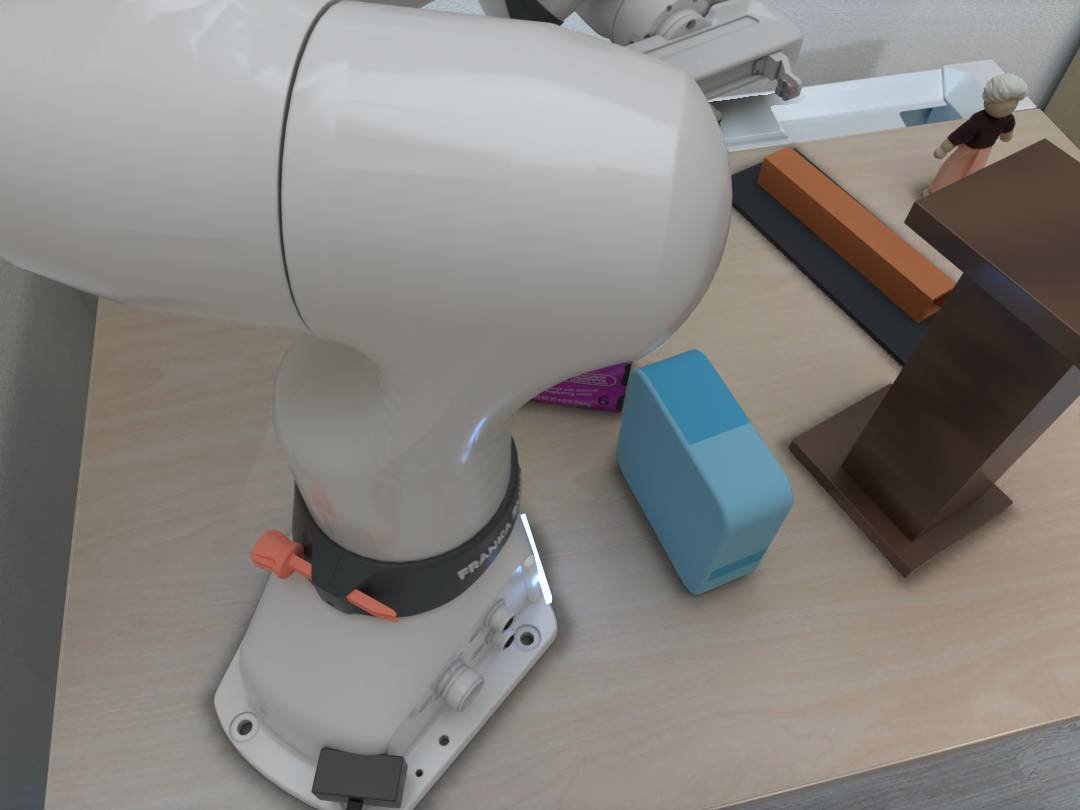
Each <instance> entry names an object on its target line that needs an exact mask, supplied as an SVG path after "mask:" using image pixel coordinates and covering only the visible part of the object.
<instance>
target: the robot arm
mask: <svg viewBox="0 0 1080 810" xmlns="http://www.w3.org/2000/svg"><path fill="white" fill-rule="evenodd" d="M434 1H435V0H0V257H1V258H2V259H3V260H5V261H6V262H9V263H11V264H12V265H14V266H16V267H18V268H21V269H23V270H26V271H27V272H31V273H34V274H36V275H39V276H41V277H44V278H47V279H48V280H51V281H54V282H57V283H59V284H63V285H65V286H67V287H70V288H73V289H75V290H77V291H80V292H83V293H86V294H89V295H92V296H95V297H98V298H101V299H105V300H106V301H107V300H108V301H109V302H114V303H117V304H120V305H122V306H125V307H129V308H131V309H135V310H137V311H141V312H144V313H145V312H146V313H152V314H153V313H154V314H161V315H168V316H175V317H182V318H189V319H197V320H203V321H209V322H210V321H211V322H217V323H224V324H231V325H238V326H245V327H246V326H247V327H253V328H260V329H261V328H262V329H268V330H275V331H283V332H288V333H295V334H297V335H296V337H295V338H294V339H293V341H292V342H291V343H290V344H289V345H288V347H287V348H286V350H285V352H284V353H283V355H282V357H281V359H280V361H279V364H278V366H277V368H276V371H275V374H274V378H273V384H272V388H271V389H272V390H271V395H270V396H271V397H270V419H271V425H272V430H273V434H274V437H275V439H276V442H277V443H278V446H279V447H280V450H281V452H282V454H283V456H284V459H285V461H286V463H287V465H288V468H289V470H290V472H291V474H292V477H293V482H294V483H293V501H292V521H291V522H292V523H291V528H290V531H289V533H288V536H286V535H285V534H283V532H281V531H279V530H277V529H275V528H272V529H269V530H267V531H265V532H264V533H263V534H262V535H261V536H260V537H259V539H257V542H256V543H255V544H254V547H253V548H252V554H251V557H250V558H251V563H252V564H253V565H254V566H257V567H258V568H261V569H264V570H266V571H269V572H271V574H270V576H269V578H268V581H267V584H266V585H265V589H264V591H263V593H262V594H261V597H260V599H259V602H258V605H257V606H256V609H255V611H254V613H253V616H252V618H251V621H250V623H249V625H248V628H247V629H246V632H245V635H244V637H243V638H242V640H241V642H240V644H239V646H238V649H237V650H236V652H235V654H234V656H233V658H232V659H231V661H230V664H229V665H228V667H227V669H226V670H225V674H224V675H223V677H222V679H221V680H220V683H219V685H218V687H217V690H215V694H214V697H213V706H214V709H215V713H216V716H217V718H218V721H219V723H220V726H221V727H222V729H223V732H224V733H225V734H226V736H227V738H228V739H229V741H230V742H231V744H232V745H233V746H234V748H235V749H236V750H237V751H238V753H239V754H240V755H241V756H242V757H243V758H244V759H245V761H247V763H248V764H249V765H251V767H253V768H254V769H255V770H256V771H257V772H258V773H260V774H261V775H262V776H263V777H264V778H266V779H267V780H269V782H272V783H273V784H274V785H276V786H277V787H279V788H280V789H281V790H283V791H284V792H286V793H288V794H289V795H291V796H293V797H294V798H296V799H297V800H299V801H301V802H303V803H304V804H306V805H308V806H310V807H312V808H315V809H316V810H415V808H416V807H417V806H418V805H419V803H421V801H423V799H424V798H425V796H426V795H427V794H428V793H429V792H430V790H432V788H433V786H435V785H436V783H437V782H438V781H439V780H440V779H441V777H442V776H443V775H444V774H445V772H447V770H448V769H449V768H450V767H451V765H452V764H453V763H454V762H455V760H456V759H457V758H458V757H459V756H460V754H462V752H463V751H464V750H465V748H466V747H468V745H469V744H470V742H471V741H473V739H474V738H475V736H476V735H477V734H478V733H479V732H480V730H481V729H483V727H484V726H485V725H486V724H487V722H488V721H489V720H490V718H491V717H493V715H494V714H495V713H496V712H497V710H498V709H499V708H500V707H501V705H502V704H503V703H504V702H505V701H506V700H507V698H508V697H509V696H510V694H511V693H512V692H513V691H514V690H515V688H517V686H518V685H519V684H520V683H521V681H522V680H523V679H524V678H525V676H526V675H527V674H528V673H529V672H530V671H531V669H532V668H533V667H534V666H535V664H536V663H537V662H538V661H539V660H540V658H541V657H542V656H543V655H544V654H545V653H546V651H547V650H548V649H549V648H550V647H551V646H552V644H553V643H554V641H555V639H557V635H558V630H559V629H558V627H559V626H558V621H557V617H556V614H555V611H554V610H553V607H552V605H551V604H552V600H553V597H552V596H553V595H552V593H551V590H550V587H549V584H548V581H547V578H546V575H545V571H544V568H543V565H542V562H541V559H540V556H539V552H538V550H537V547H536V544H535V541H534V537H533V534H532V531H531V527H530V525H529V522H528V519H527V516H526V513H523V514H521V513H520V512H521V511H520V503H521V496H522V489H523V488H522V484H523V482H522V481H523V479H522V477H523V476H522V466H521V464H520V463H519V455H518V453H519V452H518V448H517V445H516V442H515V439H514V437H513V429H514V428H513V426H514V420H515V413H516V412H517V411H518V410H519V409H521V407H523V406H524V405H526V404H527V403H528V402H529V401H531V400H530V399H532V398H534V397H535V396H537V395H538V394H540V393H541V392H543V391H545V390H547V389H548V388H550V387H552V386H554V385H556V384H558V383H561V382H563V381H565V380H567V379H569V378H572V377H575V376H577V375H580V374H583V373H586V372H589V371H592V370H596V369H600V368H603V367H607V366H612V365H616V364H620V363H625V362H629V361H632V362H633V361H639V360H641V359H643V358H645V357H646V356H648V355H650V354H651V353H653V352H654V351H655V350H657V349H658V348H660V346H661V345H663V344H664V343H665V342H667V340H669V338H671V337H672V336H673V335H674V334H675V333H676V332H677V331H678V330H679V329H680V328H681V327H682V326H683V325H684V324H685V323H686V321H688V319H689V318H690V316H691V315H692V314H693V312H694V311H695V310H696V308H697V307H698V306H699V305H700V303H701V302H702V300H703V298H704V297H705V295H706V293H707V291H708V289H709V288H710V286H711V285H712V283H713V280H714V277H715V275H716V273H717V271H718V269H719V266H720V264H721V262H722V258H723V256H724V252H725V250H726V246H727V241H728V238H729V233H730V228H731V221H732V209H733V208H732V207H733V205H732V180H731V175H732V169H731V164H730V158H729V153H728V149H727V144H726V142H725V139H724V134H723V132H722V128H721V126H722V124H721V123H722V121H723V114H722V112H721V111H720V110H718V109H717V108H716V106H714V104H712V103H710V102H709V101H712V100H714V99H716V98H718V97H722V96H724V95H726V94H729V93H731V92H734V91H737V90H739V89H741V88H744V87H746V86H749V85H752V84H754V83H756V82H758V81H759V82H760V81H761V80H764V79H768V80H769V81H771V82H773V81H775V80H776V82H777V85H776V87H775V90H774V94H775V95H776V96H777V97H778V98H781V100H782V101H783V102H788V101H790V100H793V99H795V98H798V97H800V95H801V92H802V88H803V81H802V80H801V78H799V77H798V76H797V75H796V74H794V73H793V71H792V68H794V67H795V66H796V65H797V62H798V58H799V55H800V52H801V48H802V45H803V41H804V35H803V30H802V28H801V27H800V25H799V24H798V23H796V21H795V20H794V19H792V18H790V17H789V16H788V15H786V14H785V13H784V12H783V11H782V10H780V9H779V8H777V7H776V6H775V5H773V4H772V3H770V2H768V1H767V0H477V2H478V5H479V6H480V8H481V10H482V12H483V13H484V15H482V14H473V13H465V12H464V13H463V12H457V11H455V12H454V11H446V10H437V9H430V8H429V9H428V8H424V7H425V6H427V5H429V4H431V3H433V2H434ZM574 12H575V13H576V15H577V16H579V18H580V19H581V20H582V21H583V22H584V23H585V24H586V25H587V26H588V27H589V28H590V29H591V30H592V31H594V32H595V33H596V34H597V35H599V36H600V37H602V38H605V39H607V40H605V39H602V38H599V37H596V36H593V35H589V34H587V33H583V32H582V31H581V32H580V31H578V30H574V29H571V28H568V27H565V26H562V25H563V24H564V23H565V21H566V19H567V18H569V17H570V16H571V15H572V14H573V13H574ZM608 40H609V41H608ZM526 636H528V637H531V638H532V640H533V642H531V644H524V643H523V642H522V641H521V640H522V638H524V637H526ZM246 724H251V729H250V731H249V732H248V733H246V734H241V730H242V728H243V727H244V725H246ZM445 739H446V740H448V743H447V744H445V745H442V744H441V742H442V741H443V740H445ZM420 773H421V776H418V774H420Z"/></svg>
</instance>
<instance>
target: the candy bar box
mask: <svg viewBox="0 0 1080 810" xmlns="http://www.w3.org/2000/svg"><path fill="white" fill-rule="evenodd" d="M632 364H633V361H629V362H625V363H620V364H616V365H612V366H607V367H603V368H600V369H596V370H592V371H589V372H586V373H583V374H580V375H577V376H575V377H572V378H569V379H567V380H565V381H563V382H561V383H558V384H556V385H554V386H552V387H550V388H548V389H547V390H545V391H543V392H541V393H540V394H538V395H537V396H535V397H534V398H532V399H530V400H529V401H531V402H539V403H547V404H553V405H554V404H555V405H561V406H570V407H576V408H582V409H583V408H584V409H589V410H591V409H592V410H596V411H597V410H598V411H604V412H612V413H618V414H621V413H622V411H623V409H624V405H625V403H624V402H625V400H626V396H627V391H628V386H629V380H630V376H631V369H632Z"/></svg>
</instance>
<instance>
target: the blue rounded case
mask: <svg viewBox="0 0 1080 810" xmlns="http://www.w3.org/2000/svg"><path fill="white" fill-rule="evenodd" d="M624 402H625V403H624V406H623V412H622V417H621V418H622V419H621V424H620V429H619V433H618V439H617V445H616V458H617V464H618V466H619V469H620V471H621V473H622V475H623V477H624V479H625V481H626V482H627V485H628V487H629V489H630V490H631V492H632V493H633V495H634V497H635V499H636V501H637V503H638V504H639V506H640V508H641V510H642V512H643V513H644V516H645V517H646V519H647V521H648V523H649V524H650V527H651V528H652V530H653V531H654V533H655V535H656V537H657V538H658V541H659V542H660V544H661V546H662V548H663V550H664V551H665V553H666V555H667V557H668V559H669V560H670V562H671V564H672V566H673V568H674V569H675V571H676V573H677V575H678V577H679V579H680V580H681V582H682V584H683V586H684V587H685V588H686V589H687V590H688V591H689V592H690V593H691V594H692V595H694V596H695V595H696V596H699V595H701V594H705V593H707V592H709V591H712V590H713V589H716V588H719V587H720V586H723V585H725V584H727V583H730V582H732V581H735V580H737V579H740V578H742V577H744V576H747V575H749V574H751V573H753V572H755V571H756V569H757V568H758V566H759V565H760V562H761V561H762V559H763V557H764V555H765V554H766V552H767V550H768V549H769V547H770V545H771V544H772V542H773V540H774V539H775V537H776V535H777V533H778V532H779V531H780V528H781V527H782V525H783V523H784V521H785V520H786V518H787V516H788V514H789V513H790V511H791V510H792V508H793V505H794V492H793V487H792V484H791V482H790V480H789V479H790V478H789V477H788V475H787V473H786V472H785V470H784V469H783V467H782V466H781V464H780V463H779V462H778V460H777V458H776V457H775V455H774V454H773V452H772V451H771V450H770V448H769V446H768V445H767V443H766V442H765V441H764V438H762V436H761V435H760V433H759V431H758V430H757V429H756V428H755V426H754V425H753V423H752V422H751V420H750V418H749V417H748V416H747V414H746V412H745V411H744V409H743V408H742V406H741V405H740V404H739V402H738V401H737V400H736V398H735V396H734V395H733V393H732V392H731V391H730V389H729V387H728V386H727V384H726V383H725V382H724V380H723V378H722V377H721V376H720V374H719V373H718V371H717V370H716V369H715V366H713V363H712V362H711V360H710V359H709V358H708V357H707V355H706V354H704V352H702V351H701V350H699V349H690V350H687V351H684V352H682V353H679V354H676V355H672V356H669V357H667V358H664V359H661V360H658V361H655V362H652V363H650V364H646V365H643V366H641V367H638V368H635V369H633V370H632V371H631V372H630V375H629V380H628V386H627V391H626V395H625V401H624Z"/></svg>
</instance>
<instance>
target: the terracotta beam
mask: <svg viewBox="0 0 1080 810" xmlns="http://www.w3.org/2000/svg"><path fill="white" fill-rule="evenodd" d="M793 149H794V148H793V147H791V146H789V145H788V146H786V147H784V148H782V149H779V150H777V151H775V152H772V153H770V154H769V155H766V156H764V158H763V161H762V162H763V164H762V168H761V171H760V174H759V177H758V181H757V184H759V185H760V186H761V187H762V188H763V189H764V190H765V191H767V192H768V193H769V194H770V195H771V196H772V197H773V198H775V199H776V200H777V201H778V202H779V203H780V204H782V205H783V206H784V207H785V208H786V209H787V210H788V211H790V212H791V213H792V214H793V215H794V216H795V217H796V218H798V219H799V220H800V221H801V222H802V223H803V224H804V225H806V226H807V227H808V228H809V229H810V230H811V231H812V232H814V233H815V234H816V235H817V236H818V237H819V238H820V239H822V240H823V241H824V242H825V243H826V244H827V245H828V246H830V247H831V248H832V249H833V250H834V251H835V252H836V253H838V254H839V255H840V256H841V257H842V258H843V259H844V260H846V261H847V262H848V263H849V264H850V265H851V266H852V267H854V268H855V269H856V270H857V271H858V272H859V273H860V274H862V275H863V276H864V277H865V278H866V279H867V280H868V281H870V282H871V283H872V284H873V285H874V286H875V287H876V288H878V289H879V290H880V291H881V292H882V293H883V294H884V295H886V296H887V297H888V298H889V299H890V300H891V301H892V302H894V303H895V304H896V305H897V306H898V307H899V308H900V309H902V310H903V311H904V312H905V313H906V314H907V315H908V316H910V317H911V318H912V319H913V320H914V321H915V322H916V323H920V322H921V321H923V320H925V319H927V318H928V317H930V316H932V315H933V314H935V313H937V312H939V310H940V308H941V307H942V305H943V304H944V302H945V300H946V299H947V297H948V296H949V294H950V293H951V291H952V289H953V288H954V286H955V285H956V283H957V282H956V281H954V280H953V279H952V278H950V277H949V275H947V274H946V273H945V272H943V271H942V270H941V269H939V268H938V267H937V266H936V265H935V264H934V263H932V261H930V260H929V259H927V258H926V257H925V256H923V255H922V254H921V253H920V252H919V251H918V250H916V249H915V248H914V247H913V246H912V245H911V244H909V243H908V242H907V241H906V240H904V238H902V237H901V236H900V235H898V233H896V232H895V231H894V230H892V229H891V228H890V227H889V226H888V225H887V224H886V223H884V222H883V221H882V220H880V218H878V217H877V216H876V215H875V214H873V213H872V212H871V211H870V210H869V209H867V208H866V207H865V206H864V205H863V204H862V205H863V206H864V207H865V208H866V209H867V210H866V209H865V208H864V207H863V206H862V205H860V204H861V203H860V202H859V201H858V200H857V201H858V202H859V203H860V204H859V203H858V202H857V201H855V200H854V199H853V198H854V197H853V196H852V195H851V196H852V197H853V198H852V197H851V196H849V195H848V194H847V193H848V192H847V191H846V192H847V193H846V192H844V191H843V190H842V189H841V188H840V187H841V186H840V187H838V186H837V185H836V184H835V183H834V182H835V181H834V182H832V181H831V180H830V179H829V178H827V177H826V176H825V175H824V174H823V173H821V172H820V171H819V170H818V169H816V168H815V167H814V166H813V165H812V164H810V163H809V162H808V161H807V160H806V159H804V158H803V157H802V156H801V155H799V154H798V153H797V152H796V151H795V150H793ZM868 210H869V211H870V212H871V213H872V214H873V215H872V214H871V213H870V212H869V211H868ZM874 215H875V216H876V217H877V218H878V219H877V218H876V217H875V216H874ZM881 221H882V222H883V223H884V224H883V223H882V222H881ZM888 227H889V228H888ZM894 232H895V233H894Z"/></svg>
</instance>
